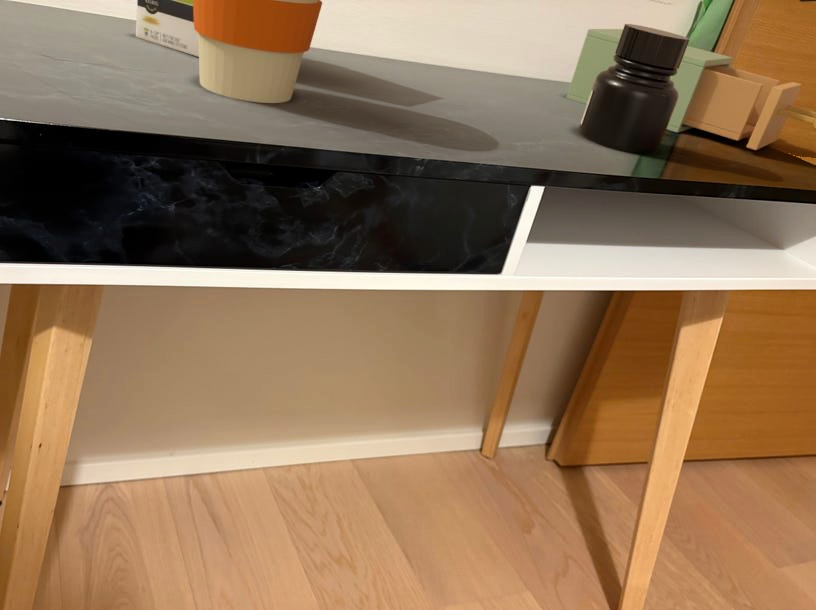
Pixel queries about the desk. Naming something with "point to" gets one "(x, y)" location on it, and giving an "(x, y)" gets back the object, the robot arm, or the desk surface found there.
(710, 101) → the drawer
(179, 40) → the tea box
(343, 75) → the desk surface
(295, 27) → the reusable coffee cup
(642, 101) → the ink bottle
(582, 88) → the cabinet
